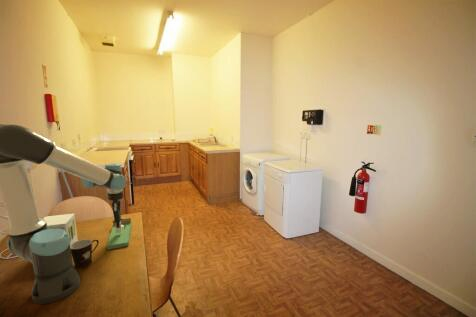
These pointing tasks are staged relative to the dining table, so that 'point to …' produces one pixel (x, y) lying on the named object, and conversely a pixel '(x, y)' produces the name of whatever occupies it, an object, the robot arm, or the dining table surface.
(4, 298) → the dining table surface
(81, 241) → the coffee mug
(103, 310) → the dining table surface
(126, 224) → the green
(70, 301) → the dining table surface
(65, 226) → the supplement box
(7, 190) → the robot arm
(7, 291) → the dining table surface
